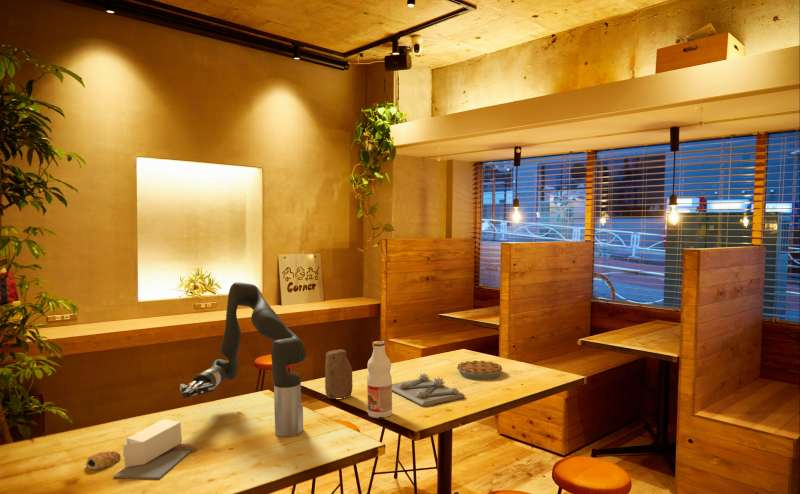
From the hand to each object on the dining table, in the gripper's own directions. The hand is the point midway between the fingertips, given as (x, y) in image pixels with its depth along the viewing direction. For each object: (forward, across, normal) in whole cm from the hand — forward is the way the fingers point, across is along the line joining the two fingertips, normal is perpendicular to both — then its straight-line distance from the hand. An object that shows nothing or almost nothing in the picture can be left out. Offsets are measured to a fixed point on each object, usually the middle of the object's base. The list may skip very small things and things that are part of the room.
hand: (185, 395), depth 189 cm
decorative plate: (-53, +80, +16) cm, 98 cm away
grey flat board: (+21, 0, +15) cm, 26 cm away
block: (-47, +44, +15) cm, 66 cm away
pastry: (+22, -16, +15) cm, 31 cm away
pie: (-85, +106, +16) cm, 137 cm away
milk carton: (+8, 0, +9) cm, 12 cm away
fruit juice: (-26, +64, +15) cm, 71 cm away
